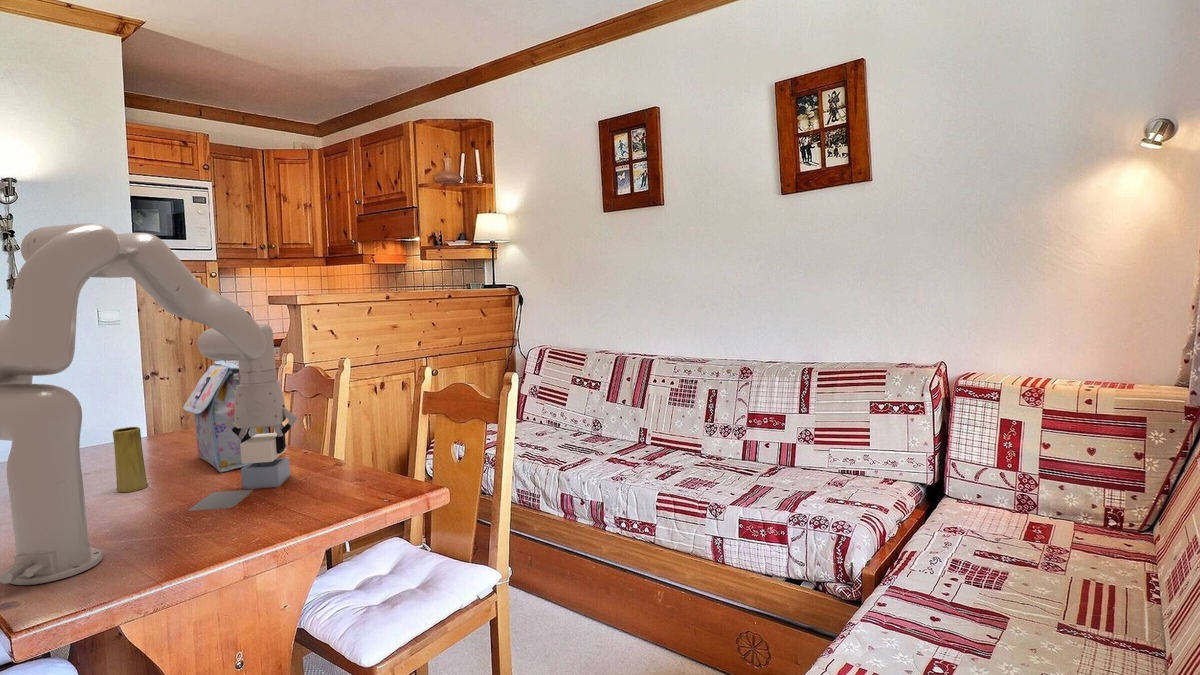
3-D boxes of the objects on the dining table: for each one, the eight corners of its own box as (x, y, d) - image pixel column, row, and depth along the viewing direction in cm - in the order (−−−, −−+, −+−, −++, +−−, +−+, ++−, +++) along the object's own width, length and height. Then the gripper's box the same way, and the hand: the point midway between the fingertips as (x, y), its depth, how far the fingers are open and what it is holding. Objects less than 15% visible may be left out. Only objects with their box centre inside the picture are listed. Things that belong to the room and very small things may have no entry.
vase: (131, 493, 153) (125, 432, 152) (109, 492, 154) (103, 432, 153) (154, 484, 159) (148, 426, 158) (132, 484, 160) (126, 426, 159)
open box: (279, 488, 153) (277, 466, 153) (242, 490, 152) (240, 469, 152) (290, 477, 161) (289, 457, 161) (255, 480, 160) (254, 459, 160)
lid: (271, 461, 151) (270, 442, 151) (241, 463, 151) (240, 444, 150) (286, 450, 161) (285, 432, 161) (258, 452, 160) (256, 434, 160)
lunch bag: (185, 460, 181) (176, 363, 178) (252, 447, 192) (245, 356, 189) (204, 477, 164) (195, 370, 162) (277, 462, 175) (269, 362, 173)
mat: (233, 509, 140) (232, 507, 140) (187, 512, 139) (187, 510, 139) (254, 491, 152) (254, 489, 152) (212, 494, 150) (212, 492, 150)
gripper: (211, 382, 149) (218, 460, 151) (292, 378, 152) (298, 455, 153) (225, 377, 157) (231, 451, 158) (302, 373, 159) (308, 446, 161)
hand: (264, 452), depth 156 cm, fingers closed on lid, 6 cm apart
